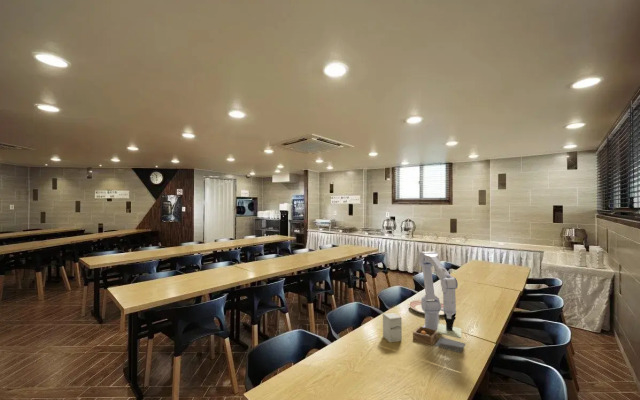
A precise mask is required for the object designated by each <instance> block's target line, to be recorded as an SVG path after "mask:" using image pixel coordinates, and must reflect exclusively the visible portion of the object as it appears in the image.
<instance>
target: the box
mask: <svg viewBox="0 0 640 400" xmlns="http://www.w3.org/2000/svg"><path fill="white" fill-rule="evenodd" d="M421 331H425V332H426V333H427V334H428V335H430V336H427V335H424V334H421ZM438 338H439V333H437V331H436V330H433V329H429V328H425V327H423V326H420V325H419V326H418V327H416V329H415V330H414V331H413V332H412V340H415V341H418V342H420V343H425V344H426V345H430V346H433V345H435V344H436V342H437V341H438V340H439V339H438Z"/></svg>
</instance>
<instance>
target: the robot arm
mask: <svg viewBox="0 0 640 400" xmlns="http://www.w3.org/2000/svg"><path fill="white" fill-rule="evenodd" d="M439 258H440V257H439V253H438V252H437V251H420V252H419V253H418V261H419V266H421V267H422V276H423V284H424V292H425V294H424V295H423V296H422V297H421V299H420V300H421V301H422V302H421V307H422V310H423V311H424V312H425V314H424V325H423V326H422V327H425V328H429V329H433V330H436V331H437V327H438V323H439V324H440V316H439V311H444V314H443V315H442V316H443V319H444V320H445V325H447V329H448V330H452V329H453V327H454V323H455V320H456V318H457V316H456V315H457V307H456V305H457V304H456V302H457V300H456V289H458V281H457V277H454V276H452V275H451V274H450V273H449V271H448V270H447V269H446V268H445V266H444V267H443V265H442V264H441V262H440V260H439ZM432 267H433V268H434V270H435V273H436V276H437V277H438V279H439V281H440V286H441V292H442V293H443V294H442V300H443V303H442V304H443V308H441V304H440V303H441V302H440V298H439V296H437V295H436V294H435V288H434V280H433V279H434V278H433V272H432Z"/></svg>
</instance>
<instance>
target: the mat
mask: <svg viewBox="0 0 640 400" xmlns="http://www.w3.org/2000/svg"><path fill="white" fill-rule="evenodd" d="M434 346H435V347H438V348H440V349H441V348H442V349H444V350H447V351H448V350H449V351H452V352H455V353H458V354H462V351H463V350H464V348H465V346H466V342H461V341H457V340H454V339H450V338H447V337H443V336H440V338H439V339H437V341H436V342H435V343H434Z"/></svg>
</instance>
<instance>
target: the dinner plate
mask: <svg viewBox="0 0 640 400" xmlns="http://www.w3.org/2000/svg"><path fill="white" fill-rule="evenodd" d="M421 302H422V301H421V299H418V300H411V301H410V302H409V303H408V306H409V307H410V309H412V310H413V311H416V312H417V313H420V314H422V315H425V312H424V311H423V310H422V307H421ZM440 304H441V308H443V303H441V302H440ZM443 314H444V311H439V317H440V315H441V316H443Z"/></svg>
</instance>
